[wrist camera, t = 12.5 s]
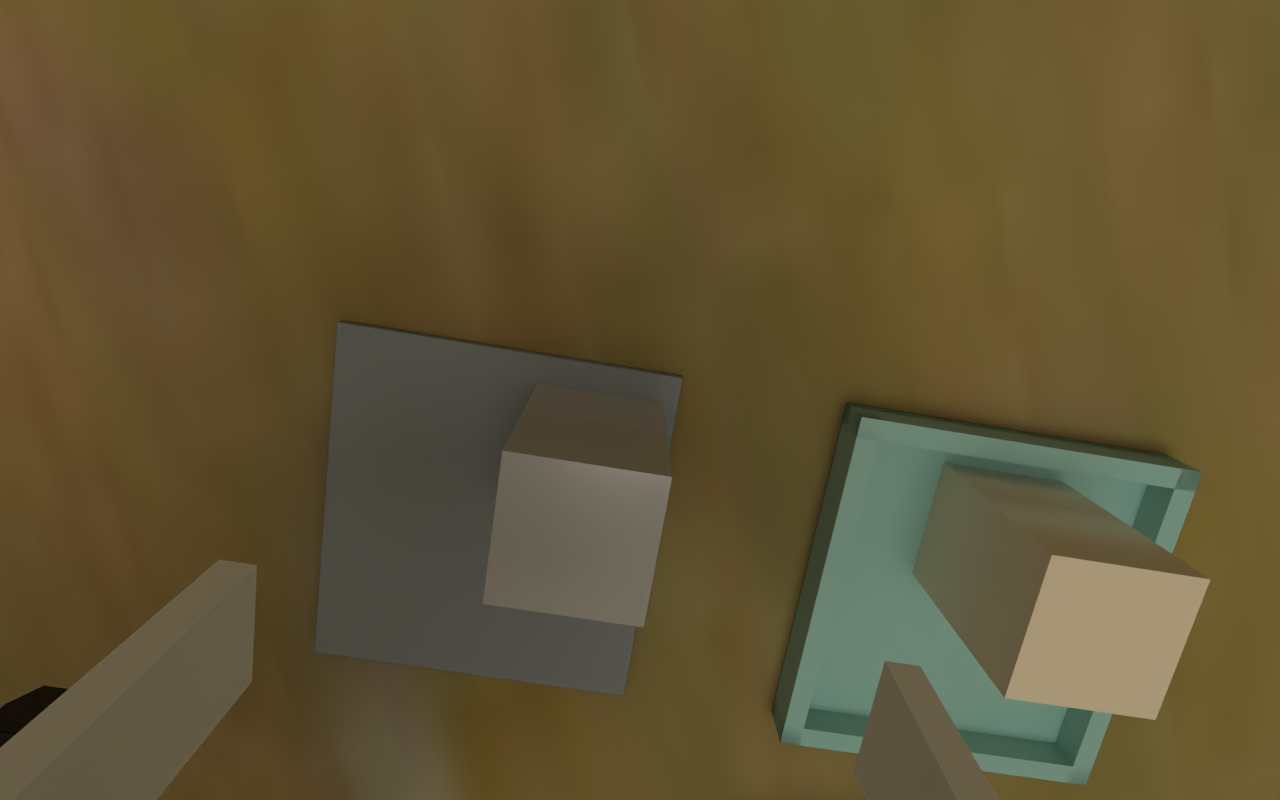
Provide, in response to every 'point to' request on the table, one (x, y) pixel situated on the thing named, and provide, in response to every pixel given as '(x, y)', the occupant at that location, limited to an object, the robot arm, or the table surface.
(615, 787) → the table surface
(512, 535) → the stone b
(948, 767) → the robot arm
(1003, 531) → the beige rectangular block
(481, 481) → the slate mat
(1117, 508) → the teal bin
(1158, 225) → the table surface
